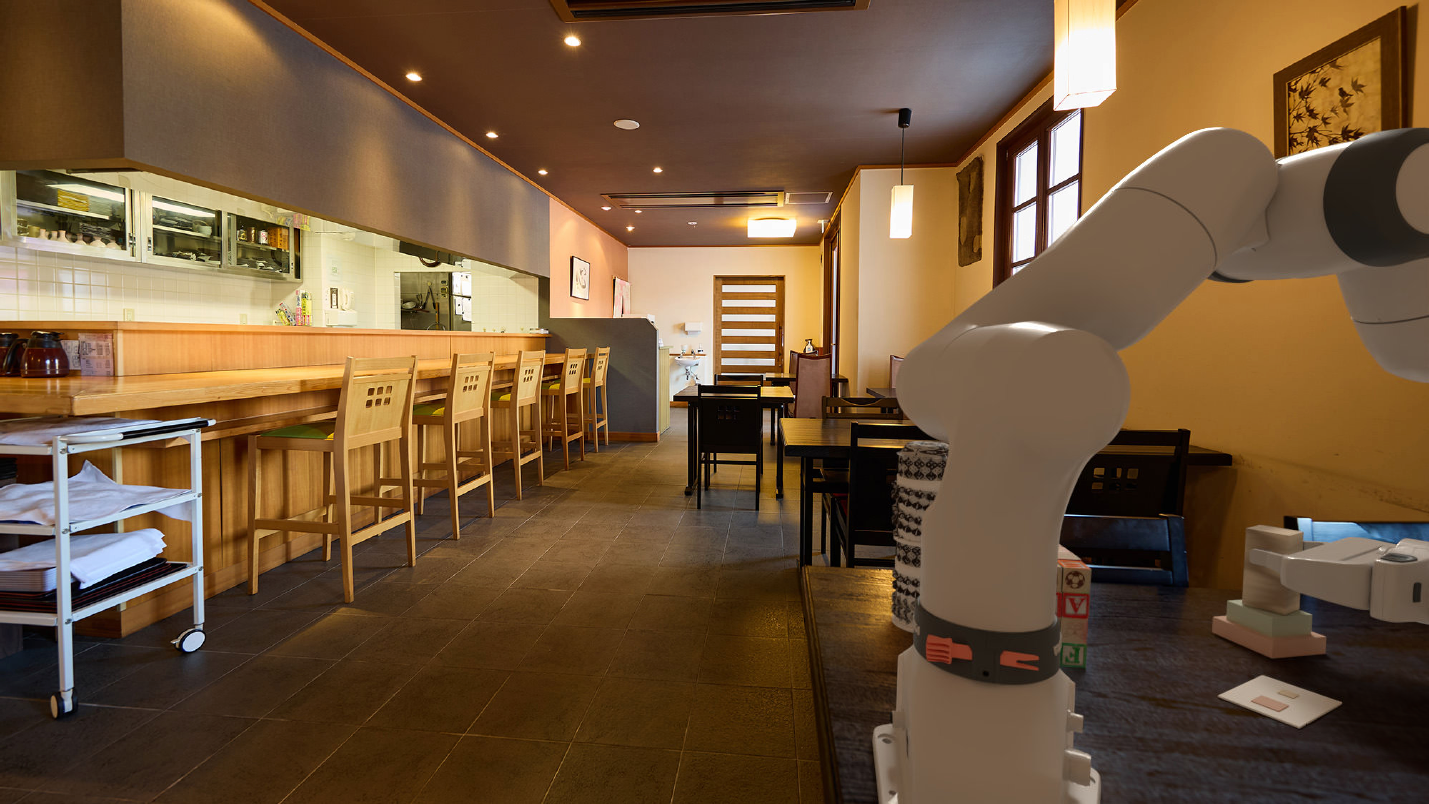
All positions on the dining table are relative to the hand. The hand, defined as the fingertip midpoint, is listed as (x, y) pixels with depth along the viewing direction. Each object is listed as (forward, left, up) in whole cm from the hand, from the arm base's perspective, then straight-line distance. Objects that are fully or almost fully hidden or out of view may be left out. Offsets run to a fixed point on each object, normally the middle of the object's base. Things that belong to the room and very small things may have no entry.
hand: (1269, 549), depth 85 cm
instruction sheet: (-18, +5, -12) cm, 22 cm away
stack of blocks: (-7, +28, -13) cm, 31 cm away
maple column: (0, 0, -7) cm, 7 cm away
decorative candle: (-10, +42, -12) cm, 45 cm away
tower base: (0, 0, -13) cm, 13 cm away
